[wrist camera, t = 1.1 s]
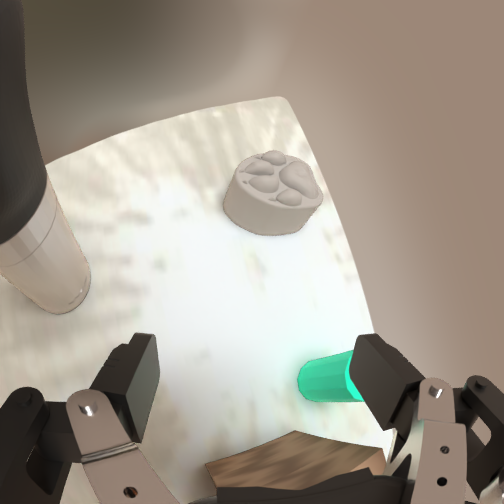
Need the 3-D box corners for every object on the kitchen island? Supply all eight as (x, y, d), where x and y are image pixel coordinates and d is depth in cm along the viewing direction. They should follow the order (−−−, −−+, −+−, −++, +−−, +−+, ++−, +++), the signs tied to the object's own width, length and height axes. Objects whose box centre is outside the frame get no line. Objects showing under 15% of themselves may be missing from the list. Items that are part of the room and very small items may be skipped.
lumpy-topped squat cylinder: (307, 233, 43) (335, 202, 36) (230, 238, 39) (247, 201, 31) (288, 183, 47) (309, 149, 40) (217, 182, 43) (230, 142, 35)
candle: (341, 388, 33) (404, 380, 23) (307, 409, 30) (368, 412, 20) (325, 352, 35) (384, 333, 25) (290, 370, 32) (345, 359, 22)
